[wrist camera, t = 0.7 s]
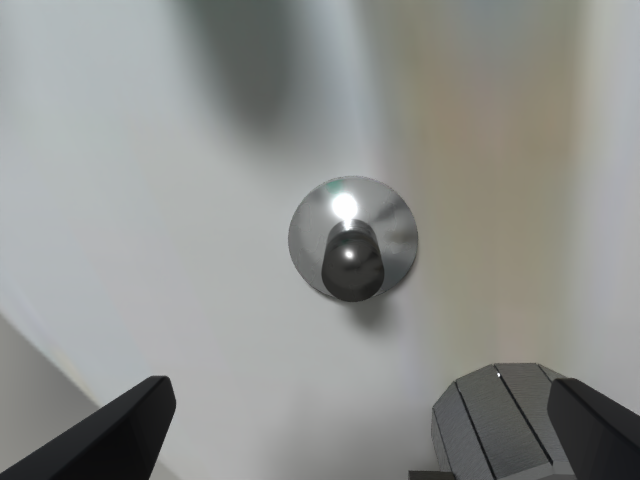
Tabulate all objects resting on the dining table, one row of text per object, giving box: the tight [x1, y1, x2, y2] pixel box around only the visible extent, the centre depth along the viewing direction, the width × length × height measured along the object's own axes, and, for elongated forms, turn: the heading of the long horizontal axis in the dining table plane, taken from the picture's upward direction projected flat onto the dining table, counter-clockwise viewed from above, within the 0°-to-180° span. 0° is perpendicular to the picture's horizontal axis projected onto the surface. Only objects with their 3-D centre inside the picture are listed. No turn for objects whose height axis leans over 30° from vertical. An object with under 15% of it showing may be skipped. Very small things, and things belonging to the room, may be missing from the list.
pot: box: [408, 363, 577, 480], centre depth 20 cm, size 15×10×6 cm
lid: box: [288, 176, 418, 302], centre depth 17 cm, size 7×7×5 cm
